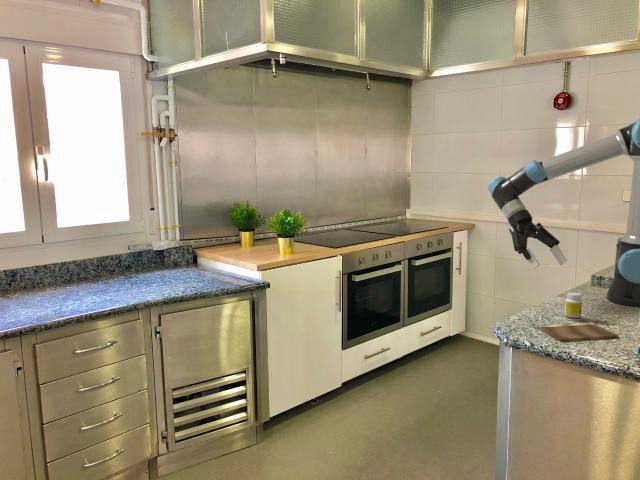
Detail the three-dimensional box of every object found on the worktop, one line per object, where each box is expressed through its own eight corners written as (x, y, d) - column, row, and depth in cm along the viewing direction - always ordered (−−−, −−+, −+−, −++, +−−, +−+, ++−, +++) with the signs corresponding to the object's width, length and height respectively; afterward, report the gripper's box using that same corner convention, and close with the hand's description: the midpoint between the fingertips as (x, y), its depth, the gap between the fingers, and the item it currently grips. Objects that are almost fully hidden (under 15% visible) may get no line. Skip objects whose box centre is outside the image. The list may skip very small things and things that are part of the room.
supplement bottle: (582, 321, 162) (584, 296, 161) (566, 320, 163) (568, 295, 162) (578, 317, 167) (580, 292, 166) (562, 316, 168) (564, 291, 167)
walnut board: (590, 324, 160) (590, 321, 160) (617, 338, 148) (618, 335, 148) (536, 327, 157) (536, 324, 157) (560, 341, 145) (560, 338, 145)
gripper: (534, 219, 190) (567, 267, 180) (485, 223, 179) (517, 275, 168) (547, 206, 185) (582, 255, 174) (498, 210, 173) (531, 262, 163)
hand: (550, 265), depth 171 cm, fingers open, 13 cm apart
